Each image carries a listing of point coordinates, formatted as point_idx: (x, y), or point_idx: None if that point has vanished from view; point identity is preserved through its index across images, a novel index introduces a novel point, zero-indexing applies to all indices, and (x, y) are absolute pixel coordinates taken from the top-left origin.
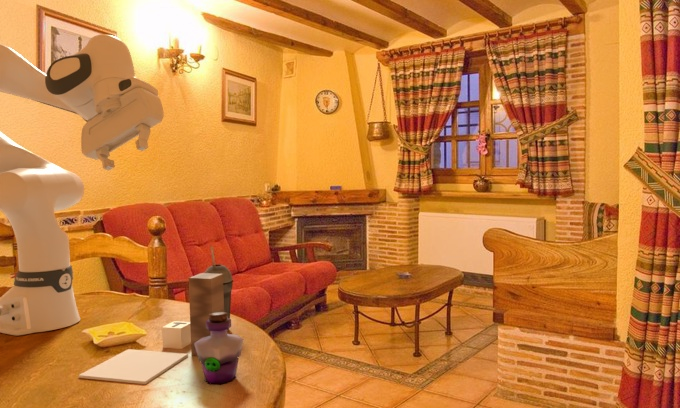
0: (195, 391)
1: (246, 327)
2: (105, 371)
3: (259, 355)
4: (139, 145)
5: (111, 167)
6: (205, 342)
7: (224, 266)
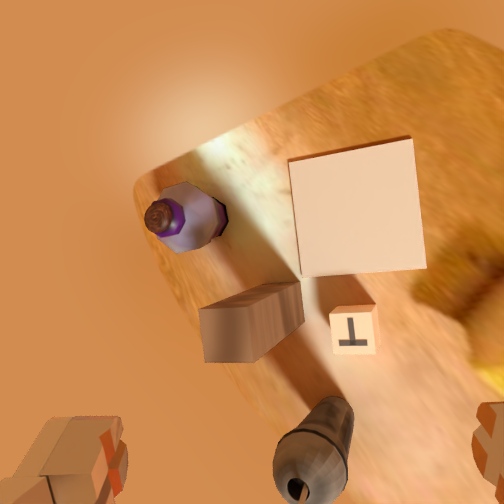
0: (215, 172)
1: None
2: (379, 168)
3: None
4: (71, 417)
5: (482, 430)
6: (186, 196)
7: (282, 491)
